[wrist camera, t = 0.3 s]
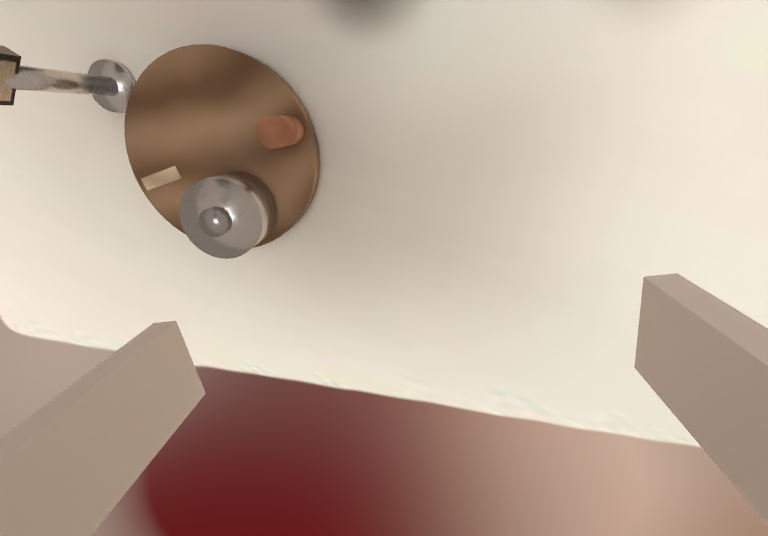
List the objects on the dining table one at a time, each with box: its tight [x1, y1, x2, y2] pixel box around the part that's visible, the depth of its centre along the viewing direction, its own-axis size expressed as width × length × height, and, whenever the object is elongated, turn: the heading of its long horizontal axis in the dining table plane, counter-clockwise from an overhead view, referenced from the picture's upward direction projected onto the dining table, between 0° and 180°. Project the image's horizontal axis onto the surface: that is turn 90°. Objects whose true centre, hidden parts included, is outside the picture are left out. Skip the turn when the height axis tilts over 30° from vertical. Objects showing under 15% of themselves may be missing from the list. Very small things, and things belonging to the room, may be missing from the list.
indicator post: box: [0, 46, 136, 112], centre depth 29 cm, size 4×4×13 cm
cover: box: [179, 171, 278, 259], centre depth 33 cm, size 7×7×6 cm
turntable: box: [125, 45, 319, 247], centre depth 33 cm, size 18×18×6 cm
